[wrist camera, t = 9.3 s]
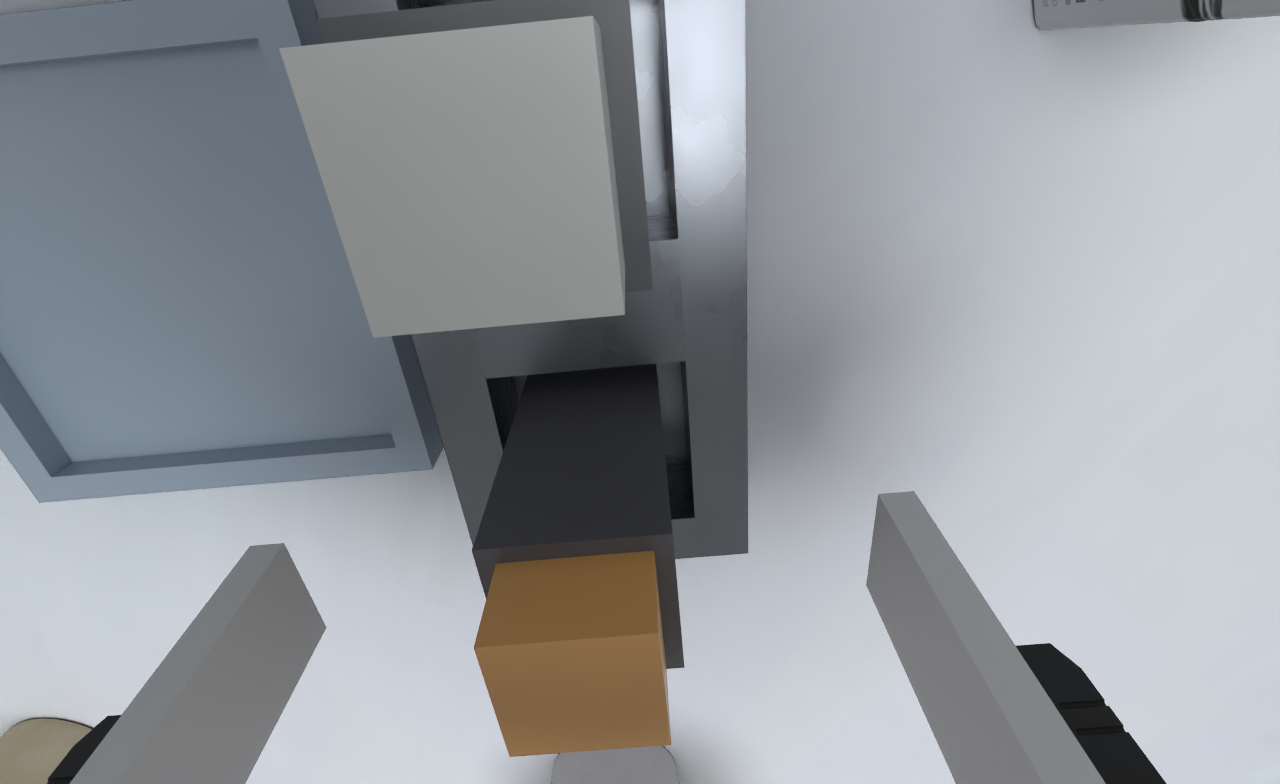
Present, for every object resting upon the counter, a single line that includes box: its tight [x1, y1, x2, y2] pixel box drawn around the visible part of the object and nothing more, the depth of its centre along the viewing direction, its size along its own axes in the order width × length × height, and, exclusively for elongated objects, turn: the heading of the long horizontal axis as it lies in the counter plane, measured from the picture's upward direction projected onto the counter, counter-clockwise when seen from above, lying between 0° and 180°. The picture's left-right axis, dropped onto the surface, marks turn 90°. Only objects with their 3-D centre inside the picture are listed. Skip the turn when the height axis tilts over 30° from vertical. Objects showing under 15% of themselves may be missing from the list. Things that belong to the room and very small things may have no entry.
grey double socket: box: [314, 0, 748, 559], centre depth 18 cm, size 18×9×4 cm, turn 5°
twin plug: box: [279, 0, 653, 338], centre depth 12 cm, size 4×4×11 cm
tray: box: [0, 0, 443, 503], centre depth 18 cm, size 14×14×1 cm
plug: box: [472, 364, 684, 757], centre depth 16 cm, size 4×4×11 cm
